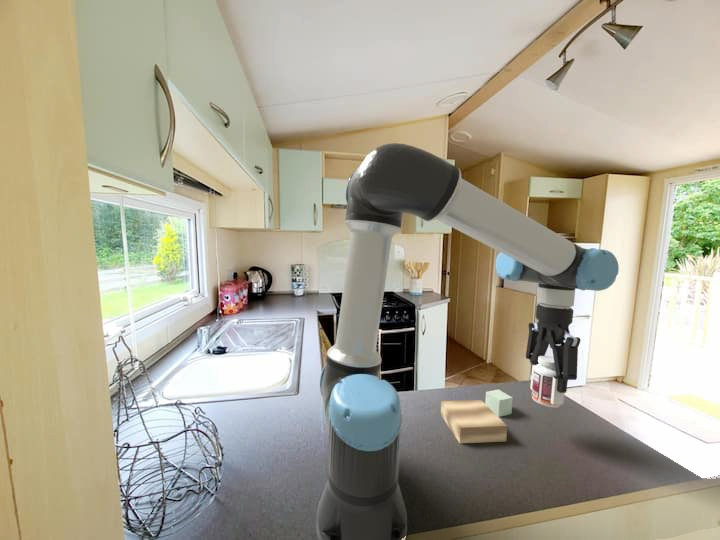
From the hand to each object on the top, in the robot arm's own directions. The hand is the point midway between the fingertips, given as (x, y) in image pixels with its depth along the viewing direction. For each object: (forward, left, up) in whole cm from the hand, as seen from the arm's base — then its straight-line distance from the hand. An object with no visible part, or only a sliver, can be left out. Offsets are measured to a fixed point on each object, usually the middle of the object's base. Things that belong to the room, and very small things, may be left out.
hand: (546, 396), depth 71 cm
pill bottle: (0, 0, -2) cm, 2 cm away
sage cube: (+12, +5, -11) cm, 17 cm away
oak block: (+5, +16, -11) cm, 20 cm away
